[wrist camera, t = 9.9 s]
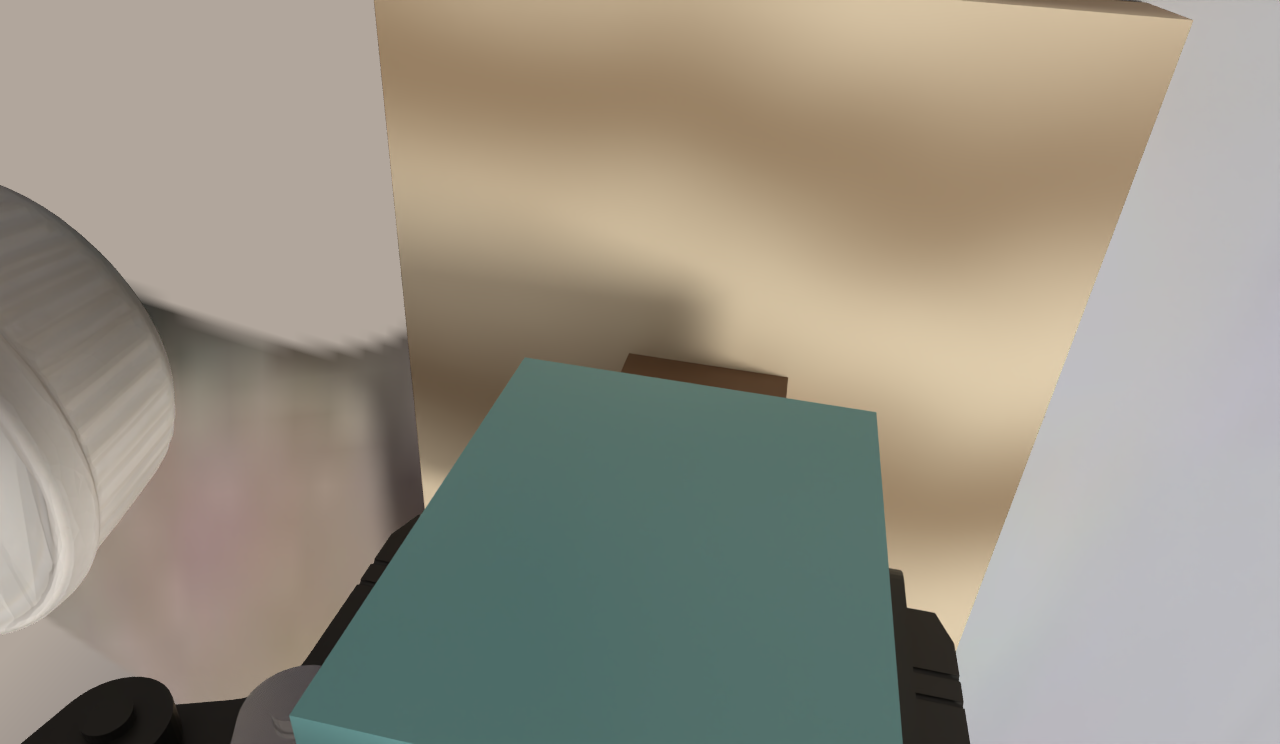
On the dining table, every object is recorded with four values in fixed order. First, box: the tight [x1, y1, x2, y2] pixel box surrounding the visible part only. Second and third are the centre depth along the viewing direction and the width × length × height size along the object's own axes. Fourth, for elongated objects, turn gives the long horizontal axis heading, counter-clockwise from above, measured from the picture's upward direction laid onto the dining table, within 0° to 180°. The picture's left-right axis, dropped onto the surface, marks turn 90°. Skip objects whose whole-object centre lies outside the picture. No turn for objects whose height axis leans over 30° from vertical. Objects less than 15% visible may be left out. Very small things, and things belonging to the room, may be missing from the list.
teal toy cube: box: [289, 357, 903, 744], centre depth 11 cm, size 5×5×7 cm
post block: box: [374, 0, 1193, 651], centre depth 14 cm, size 16×12×8 cm
